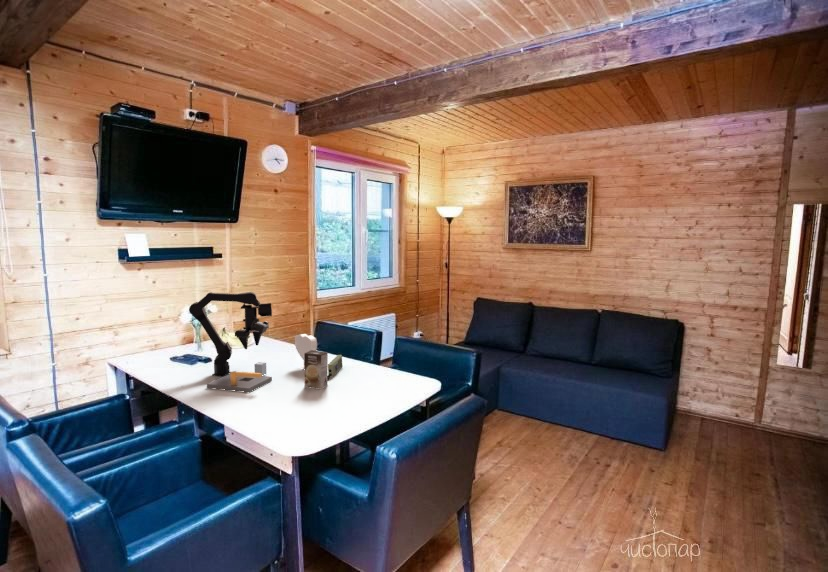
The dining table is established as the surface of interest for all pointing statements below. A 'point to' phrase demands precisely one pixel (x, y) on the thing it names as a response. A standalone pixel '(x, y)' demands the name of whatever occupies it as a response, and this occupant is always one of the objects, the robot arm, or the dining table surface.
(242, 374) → the long orange beam
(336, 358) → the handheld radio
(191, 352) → the dining table surface
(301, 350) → the heart sculpture
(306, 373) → the coffee box
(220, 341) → the robot arm
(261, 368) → the plug
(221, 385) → the socket board
